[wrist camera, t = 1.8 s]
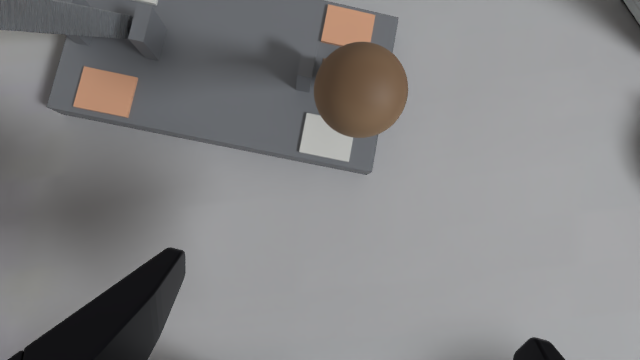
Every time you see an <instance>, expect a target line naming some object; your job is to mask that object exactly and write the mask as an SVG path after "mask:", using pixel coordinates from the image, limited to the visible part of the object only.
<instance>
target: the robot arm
mask: <svg viewBox="0 0 640 360" xmlns="http://www.w3.org/2000/svg"><path fill="white" fill-rule="evenodd" d="M184 276H185V252H184V251H183V250H179V249H175V248H166V249H165V250H163V251H162V252H160V253H159V254H158V255H156V256H155V257H153V258H152V259H150V260H149V261H148V262H146V263H145V264H143V265H142V266H141V267H139V268H138V269H136V270H135V271H133V272H132V273H131V274H129V275H128V276H126V277H125V278H123V279H122V280H121V281H119V282H118V283H116V284H115V285H113V286H112V287H111V288H109V289H108V290H106V291H105V292H104V293H102V294H101V295H99V296H98V297H96V298H95V299H94V300H92V301H91V302H89V303H88V304H86V305H85V306H84V307H82V308H81V309H79V310H78V311H76V312H75V313H74V314H72V315H71V316H69V317H68V318H67V319H65V320H64V321H62V322H61V323H59V324H58V325H57V326H55V327H54V328H52V329H51V330H49V331H48V332H47V333H45V334H44V335H42V336H41V337H39V338H38V339H37V340H35V341H34V342H32V343H31V344H30V345H28V346H27V347H25V349H24V351H19V352H18V353H16V354H15V355H14V356H12V357H11V358H9V359H8V360H147V359H148V357H149V356H150V354H151V352H152V350H153V348H154V347H155V345H156V343H157V341H158V339H159V337H160V335H161V332H162V330H163V328H164V325H165V323H166V321H167V318H168V316H169V313H170V311H171V308H172V306H173V304H174V301H175V299H176V296H177V294H178V292H179V289H180V287H181V284H182V282H183V279H184ZM513 360H565V359H564V358H563V356H562V355H561V354H560V353H559V352H558V350H557V349H556V348H555V347H554V346H553V345H552V344H551V343H550V342H549V341H547V340H543V339H539V338H535V337H533V338H530V339H529V340H528V341H526V342H525V343H524V344H523V345H522V346H521V347H520V348H519V349H518V350H517V351H516V352H515V354H514V358H513Z"/></svg>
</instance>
